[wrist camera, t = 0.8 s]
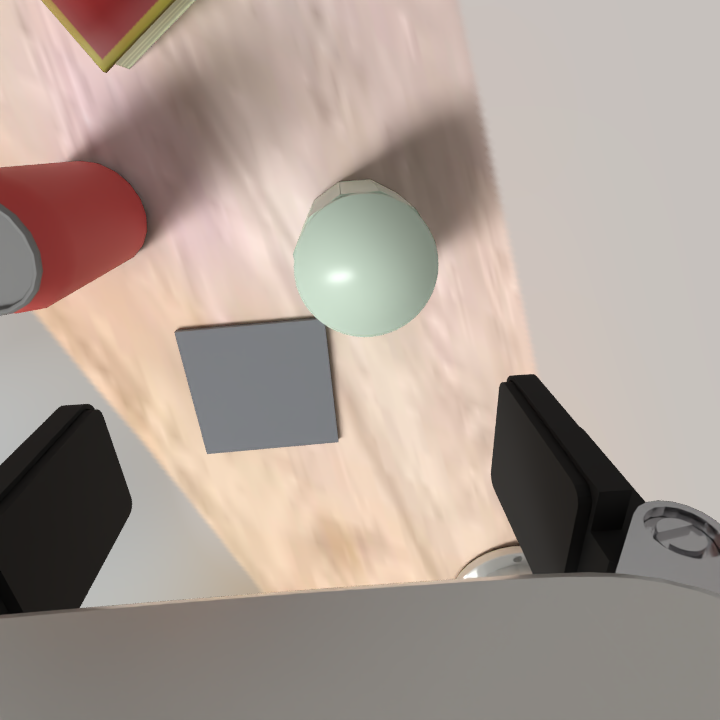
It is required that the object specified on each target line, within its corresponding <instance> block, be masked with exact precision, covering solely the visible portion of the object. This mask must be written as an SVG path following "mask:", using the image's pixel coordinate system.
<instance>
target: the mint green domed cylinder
mask: <svg viewBox="0 0 720 720" xmlns="http://www.w3.org/2000/svg"><path fill="white" fill-rule="evenodd" d="M293 256H294V276H295V281H296V286H297V289H298V291H299V294H300V296H301V298H302V300H303V302H304V304H305V305H306V307H307V308H308V310H309V311H310V312H311V313H312V314H313V315H314V316H315V317H316V318H317V319H318V320H319V321H320V322H322V323H323V324H325V325H326V326H328V327H329V328H331V329H333V330H335V331H337V332H340V333H343V334H346V335H351V336H358V337H372V336H379V335H383V334H387V333H390V332H392V331H395V330H397V329H399V328H401V327H402V326H404V325H406V324H407V323H408V322H410V321H411V320H412V319H413V318H414V317H416V316H417V315H418V314H419V312H420V311H421V310H422V309H423V308H424V306H425V305H426V303H427V302H428V300H429V298H430V296H431V294H432V292H433V290H434V287H435V284H436V280H437V275H438V254H437V249H436V245H435V240H434V239H433V236H432V234H431V232H430V230H429V228H428V227H427V225H426V224H425V223H424V221H423V220H422V219H421V217H420V215H419V214H418V212H417V210H416V209H415V208H414V207H413V206H412V205H410V204H409V203H408V202H407V201H406V200H405V199H403V198H402V197H401V196H400V195H399V194H398V193H396V192H394V191H392V190H390V189H388V188H386V187H384V186H382V185H381V184H379V183H377V182H375V181H373V180H371V179H365V180H353V181H341V182H340V183H339V182H338V183H337V184H335V185H334V186H333V187H331V188H330V189H329V190H327V191H326V192H325V193H323V194H322V195H321V196H319V197H318V198H316V199H315V200H314V202H313V204H312V207H311V209H310V211H309V214H308V216H307V219H306V221H305V223H304V226H303V228H302V231H301V234H300V236H299V239H298V242H297V245H296V247H295V250H294V253H293Z"/></svg>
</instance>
